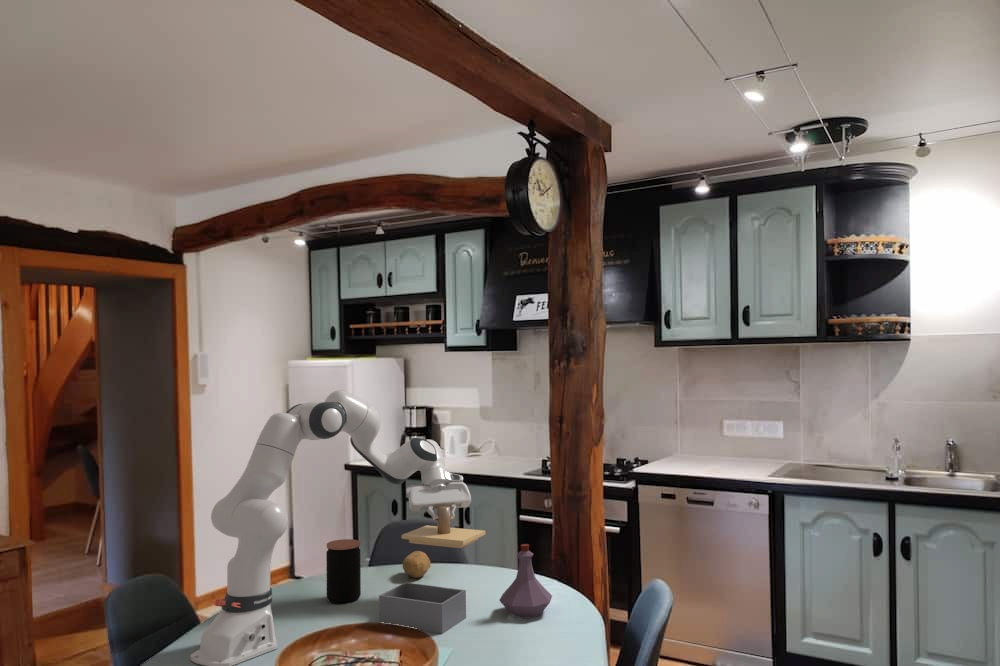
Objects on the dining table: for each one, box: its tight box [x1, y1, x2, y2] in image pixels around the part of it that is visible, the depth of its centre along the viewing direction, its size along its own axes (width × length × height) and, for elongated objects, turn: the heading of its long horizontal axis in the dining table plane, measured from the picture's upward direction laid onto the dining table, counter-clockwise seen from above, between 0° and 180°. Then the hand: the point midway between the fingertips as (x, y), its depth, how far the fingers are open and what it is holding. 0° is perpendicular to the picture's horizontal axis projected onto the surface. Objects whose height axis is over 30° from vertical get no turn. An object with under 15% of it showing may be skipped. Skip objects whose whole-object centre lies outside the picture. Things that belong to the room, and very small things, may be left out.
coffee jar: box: [325, 538, 362, 605], centre depth 232 cm, size 11×11×18 cm
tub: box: [378, 581, 467, 635], centre depth 211 cm, size 14×21×8 cm, turn 65°
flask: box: [499, 543, 553, 618], centre depth 217 cm, size 16×16×20 cm
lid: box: [401, 506, 486, 549], centre depth 230 cm, size 15×22×11 cm
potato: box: [402, 550, 432, 579], centre depth 256 cm, size 10×14×8 cm
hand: (444, 518), depth 229 cm, fingers closed on lid, 4 cm apart
